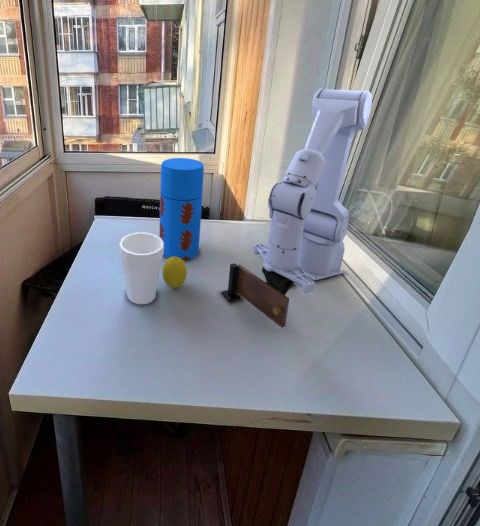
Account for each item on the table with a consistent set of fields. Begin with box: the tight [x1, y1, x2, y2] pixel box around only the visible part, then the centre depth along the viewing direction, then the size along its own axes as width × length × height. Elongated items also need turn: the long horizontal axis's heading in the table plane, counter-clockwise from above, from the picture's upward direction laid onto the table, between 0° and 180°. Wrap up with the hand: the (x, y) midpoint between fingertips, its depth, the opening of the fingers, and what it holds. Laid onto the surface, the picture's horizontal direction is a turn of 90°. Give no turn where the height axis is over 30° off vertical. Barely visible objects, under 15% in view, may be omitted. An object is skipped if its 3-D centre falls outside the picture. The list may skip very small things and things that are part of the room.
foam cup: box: [118, 231, 164, 305], centre depth 72 cm, size 10×9×13 cm
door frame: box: [221, 263, 295, 303], centre depth 74 cm, size 17×3×8 cm, turn 109°
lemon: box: [161, 256, 188, 289], centre depth 75 cm, size 6×6×8 cm
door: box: [235, 264, 290, 329], centre depth 68 cm, size 13×2×6 cm, turn 29°
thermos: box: [158, 157, 205, 262], centre depth 88 cm, size 11×11×25 cm
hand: (276, 300), depth 69 cm, fingers closed
